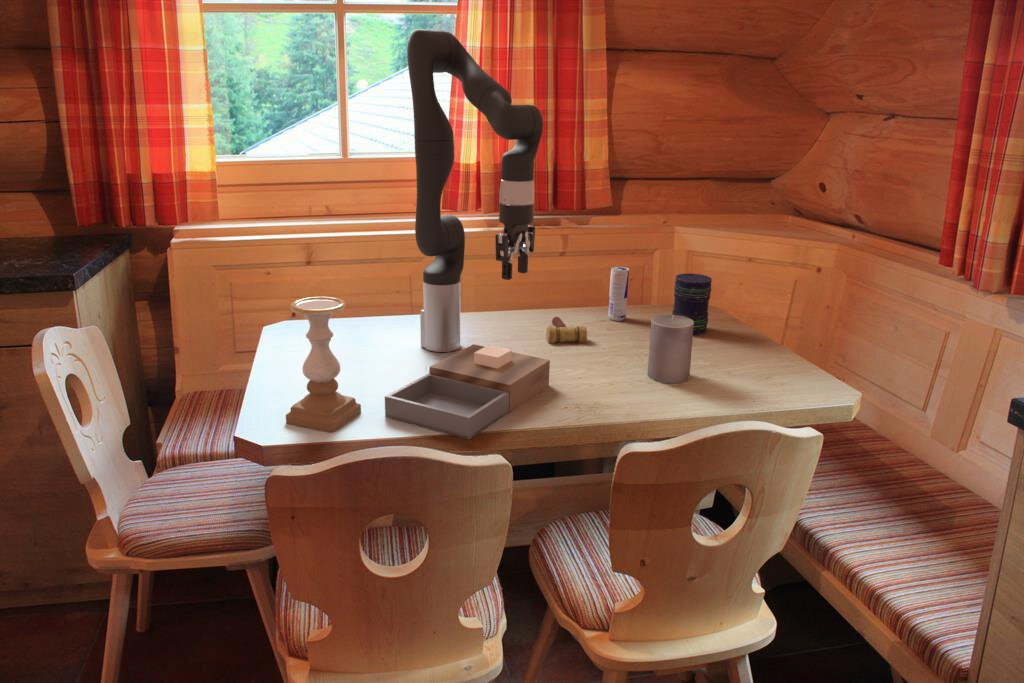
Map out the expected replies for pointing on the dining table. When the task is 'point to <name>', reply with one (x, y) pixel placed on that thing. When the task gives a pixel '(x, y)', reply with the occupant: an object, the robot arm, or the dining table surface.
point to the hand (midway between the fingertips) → (514, 275)
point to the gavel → (565, 332)
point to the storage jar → (693, 299)
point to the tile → (492, 356)
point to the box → (447, 405)
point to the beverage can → (618, 293)
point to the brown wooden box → (497, 374)
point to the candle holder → (321, 372)
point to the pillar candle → (670, 348)
